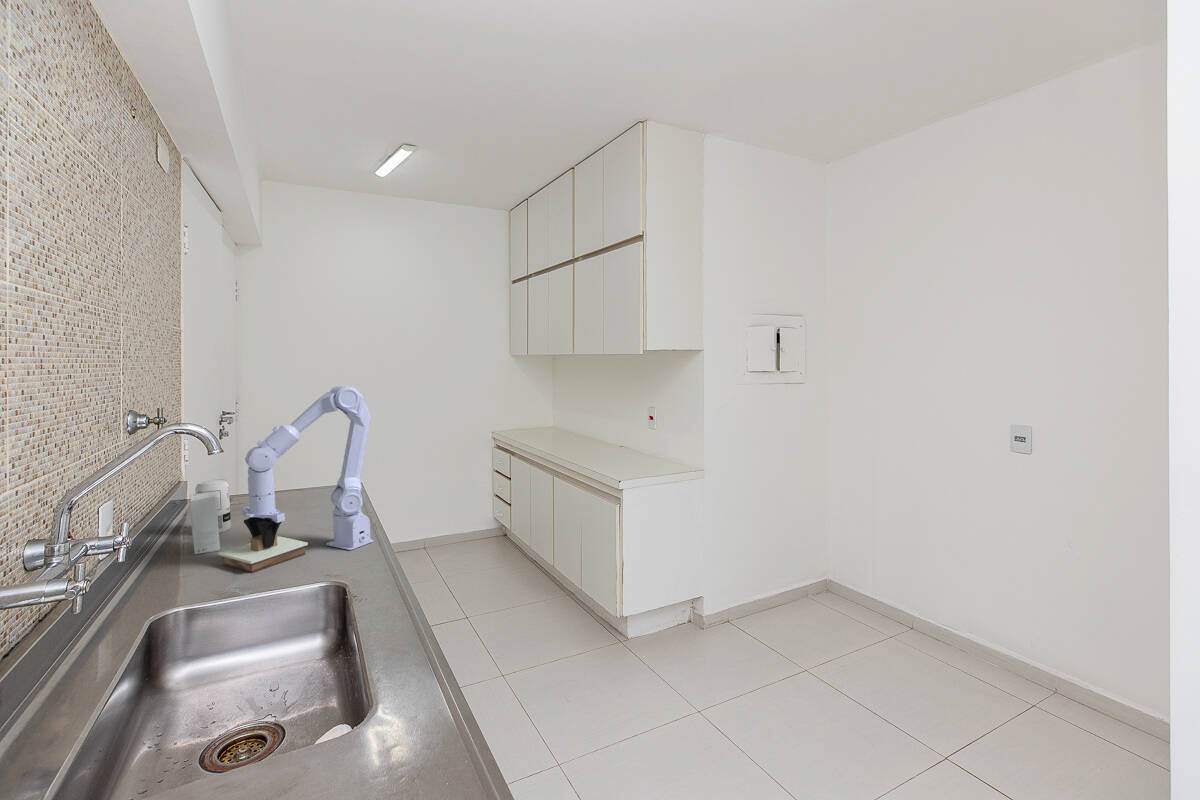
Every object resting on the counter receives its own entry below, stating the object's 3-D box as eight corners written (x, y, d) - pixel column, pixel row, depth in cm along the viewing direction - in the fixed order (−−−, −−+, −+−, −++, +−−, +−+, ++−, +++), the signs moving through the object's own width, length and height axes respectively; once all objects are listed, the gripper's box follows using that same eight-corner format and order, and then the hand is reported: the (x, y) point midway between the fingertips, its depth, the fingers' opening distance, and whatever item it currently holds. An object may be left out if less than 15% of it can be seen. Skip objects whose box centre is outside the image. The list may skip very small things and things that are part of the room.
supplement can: (191, 533, 164) (188, 483, 163) (219, 525, 171) (217, 477, 170) (209, 536, 161) (206, 485, 160) (237, 528, 168) (235, 480, 167)
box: (305, 554, 147) (304, 545, 147) (252, 572, 134) (251, 562, 134) (276, 547, 152) (275, 538, 152) (222, 564, 140) (221, 554, 139)
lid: (307, 544, 147) (307, 531, 147) (251, 563, 133) (250, 549, 133) (276, 537, 153) (275, 524, 152) (218, 555, 139) (217, 541, 139)
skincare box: (220, 550, 149) (217, 496, 148) (192, 555, 146) (189, 500, 145) (219, 542, 156) (216, 490, 155) (192, 546, 152) (189, 493, 151)
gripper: (228, 494, 141) (231, 546, 142) (264, 500, 135) (267, 555, 136) (255, 488, 148) (258, 538, 149) (291, 494, 141) (293, 546, 142)
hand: (264, 545), depth 143 cm, fingers closed on lid, 3 cm apart
